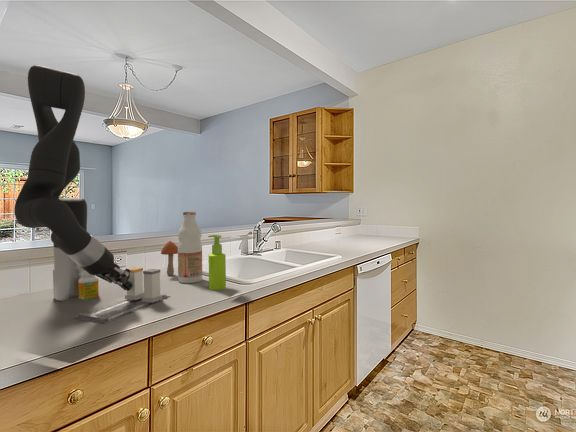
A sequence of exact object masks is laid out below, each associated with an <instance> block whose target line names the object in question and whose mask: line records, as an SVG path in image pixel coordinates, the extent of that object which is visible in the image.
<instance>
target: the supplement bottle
mask: <svg viewBox="0 0 576 432" xmlns="http://www.w3.org/2000/svg"><path fill="white" fill-rule="evenodd" d="M81 276H82V278H80V279H79V281H78V284H79V296H78V300H81V301H83V300H93V299H96V298H99V296H100V295H99V294H100V293H99V292H100V291H99V290H100V289H99V288H100V287H99V277H97V276H95V275H91V274H89V273H88V272H86V271H85V270H84V271H81Z"/></svg>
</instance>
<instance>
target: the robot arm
mask: <svg viewBox="0 0 576 432" xmlns="http://www.w3.org/2000/svg"><path fill="white" fill-rule="evenodd" d="M27 86H28V87H27V88H28V94H29V98H30V103H31V108H32V112H33V115H34V116H33V117H34V119H35V124H36V130H37V137H38V142H37V143H36V144H35V145H34V147H33V149H32V151H31V153H30V154H31V155H30V160H29V167H28V171H27V172H28V173H27V178H26V180H25V182H24V184H23V185H22V188H21V189H20V190H19V194H18V196H17V198H16V200H15V203H14V209H13V210H14V212H13V213H14V217H15V219H16V221H17V222H18V224H20V225H21V226H22V227H25V228H30V229H37V228H47V229H49V230H50V231H51V232H52V233H51V234H50V240H51V242H52V243H53V264H54V265H53V268H54V269H53V270H52V283H53V284H52V285H53V287H52V288H53V289H52V290H53V298H54V299H55V301H60V302H61V301H68V300H70V299H74V298H77V297H78V298H79V284H78V281H79V279H80V278H82V276H81V271H84V270H85V271H86V272H88V273H89V274H91V275H95V276H96V277H98V279H99V278H100V279H101V280H103V281H106V282H108V283H109V284H112V283H113V284H115V285H118V286H119V287H120V288H121V289H123V290H124V291H126V292H127V291H129V290H130V289H131V287H132V284H131V283H130V282H129V281H128V279H129V278H130V270H129V269H130V268H125V269H124V270H123V269H122V268H121V267H120V266H119V265H118V264H117V263H116V262H115V256H114V254H113V253H112V251H110V250H109V249H108V248H107V247H106V246H105V245H104V244H103V243H101V242H100V240H98V239H97V238H96V237H94V236H93V235H92V234H90V232H89V231H87V228H88V203H87V201H86V200H85V199H84V198H81V197H60V196H61V195H62V193H63V191H64V190H65V189H66V188H67V187H68V186H69V185H70V184H71V182H72V181H74V180H75V178H77V176H78V175H79V173H80V170H81V157H80V149H79V147H78V145H77V144H76V142H75V141H74V139H75V136H76V132H77V130H78V125H79V122H80V118H81V117H82V116H81V115H82V112H83V110H84V109H83V108H84V104H85V99H86V98H85V97H86V88H85V87H86V86H85V82H84V80H83V78H82V76H80V75H78V74H76V73H73V72H68V71H64V70H60V69H56V68H51V67H48V66H44V65H39V64H36V65H32V66H30V67H29V69H28V73H27ZM53 108H54V109H59V110H64V113H63V116H62V117H61V118H60V120H59V121H58V120H57V118H56V116H55V113H54V111H53Z"/></svg>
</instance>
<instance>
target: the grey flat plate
mask: <svg viewBox="0 0 576 432" xmlns="http://www.w3.org/2000/svg"><path fill="white" fill-rule="evenodd" d="M143 293H144V291H143ZM160 295H162V299H161V300H158V301H156V302H153V303H151V302H144V301H142V298H140V299H137V300H130V299H124V300H122V301H119V302H116V303H113V304H111V305H107V306H105V307H102V308H100V309H96V310H94V311H91V312H87V313H76V317H74V318H73V319H74V320H79V321H85V322H90V323H91V322H92V323H97V324H101V325H102V324H103V325H104V324H105V325H106V324H108V323H111V322H113V321H115V320H118V319H120V318H123V317H125V316H128V315H130V314H133V313H135V312H137V311H140V310H142V309H145V308H147V307H150V306H152V305H154V304H156V303H159V302H162V301H164V300H166V299H169V298H171V297H172V296H171V295H167V294H166V293H165V294H163V293H160Z"/></svg>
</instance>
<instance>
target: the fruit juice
mask: <svg viewBox="0 0 576 432" xmlns="http://www.w3.org/2000/svg"><path fill="white" fill-rule="evenodd" d="M196 214H197V212H196V211H183V212H182V216H183V219H182V223H181V226H180V228H179V229H178V231H177V237H178V241H179V242H178V244H177V247H178V253H177V273H178V274H177V278H178V282H179V283H180V284H194V283H199V282H202V281H203V245H202V242H201V238H202V230H201V228H200V227H199V225H198V223H197V219H196Z"/></svg>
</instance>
